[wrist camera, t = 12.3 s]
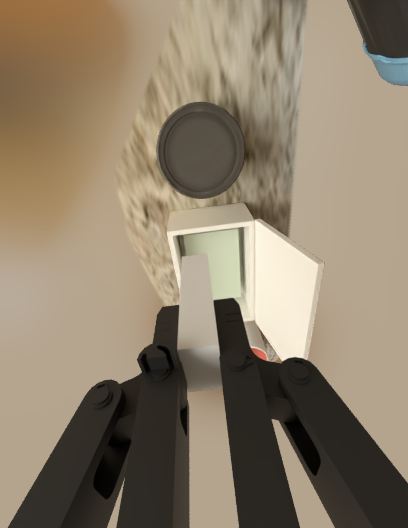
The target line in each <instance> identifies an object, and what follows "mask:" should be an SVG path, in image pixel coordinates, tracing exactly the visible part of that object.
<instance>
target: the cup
mask: <svg viewBox="0 0 408 528" xmlns="http://www.w3.org/2000/svg"><path fill="white" fill-rule="evenodd" d="M244 325H245V329H246V333H247V336H248V340H249V344H250V347H251V350H252V351H253V352H254V354H255V355H257V356H258V357H259V358H261V359H263V360H266V361H268V355H267V352H266V349H265V346H264V342H263V339H262V336H261V333H260V330H259V327H258V325H257V324H256V322H255V321H245V322H244Z"/></svg>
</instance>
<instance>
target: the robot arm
mask: <svg viewBox="0 0 408 528" xmlns="http://www.w3.org/2000/svg"><path fill="white" fill-rule="evenodd" d="M347 2H348V4H349V6H350V9H351V11H352V14H353V16H354V19H355V21H356V23H357V26H358V28H359V31H360V33H361V35H362V38H363V48H364V51H365V53H366V54H367V55H368V56H369V57H370V58H371V59H372V61H373V63H374V65H375V67H376V69H377V71H378V73H379V75H380V76H381V77H382V78H383V79H384V80H386V81H387V82H388V83H391V84H393V85H400V86H408V0H347ZM137 361H138V363H139V366H140V368H141V371H142V373H141V374H139V375H138V376H136V377H134V378H133V379H130V380H128V381H126V382H123V383H121V384H118V382H116V381H114V380H104V381H102V382H99V383H98V384H96V385H95V386H94V387H92V388H91V389H90V390H89V391H88V393H87V394H86V395H85V397H84V399H83V401H82V402H81V404H80V406H79V407H78V409H77V411H76V412H75V414H74V416H73V418H72V419H71V421H70V423H69V424H68V426H67V428H66V429H65V431H64V433H63V434H62V436H61V438H60V440H59V441H58V443H57V445H56V446H55V448H54V450H53V452H52V453H51V455H50V457H49V458H48V460H47V462H46V463H45V465H44V467H43V469H42V470H41V472H40V474H39V475H38V477H37V479H36V481H35V482H34V484H33V486H32V487H31V489H30V491H29V492H28V494H27V496H26V498H25V500H24V501H23V503H22V504H21V506H20V508H19V509H18V511H17V513H16V515H15V516H14V518H13V520H12V521H11V523H10V525H9V527H8V528H107V526H108V523H109V520H110V517H111V515H112V512H113V509H114V506H115V503H116V500H117V497H118V495H119V492H120V489H121V486H122V484H123V481H124V478H125V481H124V487H123V492H122V498H121V504H120V510H119V516H118V521H117V527H116V528H189V405H188V400H187V388H188V392H195V391H203V390H213V389H221V388H223V395H224V403H225V412H226V419H227V428H228V437H229V446H230V454H231V463H232V471H233V479H234V487H235V496H236V505H237V513H238V521H239V528H300V526H299V522H298V518H297V515H296V511H295V507H294V504H293V499H292V495H291V492H290V488H289V484H288V480H287V476H286V473H285V469H284V465H283V461H282V457H281V454H280V450H279V446H278V442H277V438H276V435H275V431H274V427H273V424H272V420H271V419H275V420H279V422H280V424H281V426H282V428H283V430H284V431H285V433H286V435H287V437H288V439H289V441H290V443H291V445H292V446H293V449H294V450H295V452H296V454H297V456H298V458H299V460H300V462H301V464H302V466H303V468H304V469H305V471H306V473H307V475H308V477H309V479H310V481H311V483H312V485H313V486H314V489H315V490H316V492H317V494H318V496H319V498H320V500H321V502H322V504H323V506H324V508H325V510H326V511H327V513H328V515H329V517H330V519H331V521H332V523H333V525H334V527H335V528H408V483H407V482H406V481H405V479H404V478H403V477H402V475H401V474H400V473H399V472H398V470H397V469H396V468H395V467H394V465H393V464H392V463H391V461H390V460H389V459H388V458H387V457H386V455H385V454H384V453H383V451H382V450H381V449H380V448H379V446H378V445H377V444H376V442H375V441H374V440H373V439H372V438H371V436H370V435H369V434H368V432H367V431H366V430H365V429H364V427H363V426H362V425H361V423H360V422H359V421H358V420H357V418H355V416H354V415H353V413H352V412H351V411H350V410H349V408H348V407H347V406H346V404H345V403H344V402H343V401H342V399H341V398H340V397H339V396H338V394H337V393H336V392H335V391H334V389H333V388H332V387H331V386H330V385H329V383H328V382H327V380H326V379H325V378H324V377H323V375H322V374H321V373H320V372H319V370H318V369H317V368H316V367H315V366H314V365H313V364H312V363H311V362H309V361H307V360H305V359H303V358H298V357H292V358H288V359H286V360H284V361H283V362H282V363H281V364H280V363H275V362H269V361H266V360H263V359H261V358H259V357H258V356H257V355H255V354H254V352H253V351H252V350H251V347H250V344H249V340H248V336H247V333H246V329H245V325H244V321H243V317H242V314H241V309H240V305H239V303H238V302H237V301H236V300H235V299H234V298H226V299H218V300H213V295H212V287H211V279H210V271H209V263H208V256H207V253H206V254H198V255H191V256H183V257H182V263H181V283H180V303H179V305H175V306H166V307H162V308H161V310H160V311H159V313H158V315H157V320H156V326H155V333H154V339H153V344H151V345H149V346H147V347H146V348H144V349H143V350H142V352H141V353H140V354H139V356H138V359H137Z"/></svg>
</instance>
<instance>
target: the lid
mask: <svg viewBox="0 0 408 528" xmlns="http://www.w3.org/2000/svg"><path fill="white" fill-rule="evenodd" d="M324 265H325V263H324V262H323V261H322V260H320V259H319V258H317V257H316V256H314V255H313V254H311V253H310V252H308V251H307V250H305V249H304V248H302V247H301V246H299V245H298V244H297V243H295V242H294V241H292V240H291V239H289V238H288V237H286V236H285V235H283V234H282V233H280V232H279V231H278V230H276V229H275V228H273V227H272V226H270V225H269V224H267V223H266V222H264V221H263V220H261V219H260V218H259V219H255V322H256V324H257V325H258V327H259V328H260V330H261V331H262V333H263V334H264V335H265V337H266V338H267V340H268V341H269V343H270V344H271V346H272V347H273V348H274V350H275V351H276V353H277V354H278V356H279V357H280V359H281V360H282V361H284V360H286V359H288V358H292V357H298V358H303V359H305V360H307V359H308V353H309V348H310V342H311V337H312V331H313V326H314V320H315V315H316V309H317V304H318V298H319V293H320V287H321V281H322V275H323V270H324Z"/></svg>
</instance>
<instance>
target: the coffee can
mask: <svg viewBox="0 0 408 528" xmlns="http://www.w3.org/2000/svg"><path fill="white" fill-rule="evenodd" d="M156 153H157V161H158V165H159V168H160V171H161V173H162V175H163V177H164V178H165V180H166V181H167V182H168V184H169V185H170V186H171V187H172V188H173V189H175V190H176V191H177V192H179V193H181V194H182V195H185V196H187V197H191V198H196V199H205V198H211V197H214V196H217V195H219V194H221V193H223V192H224V191H226V190H227V189H228V188H229V187H230V186H231V185H232V184H233V183H234V182H235V181H236V179H237V178H238V176H239V174H240V172H241V170H242V167H243V164H244V159H245V142H244V137H243V134H242V131H241V129H240V127H239V125H238V123H237V122H236V120H235V119H234V118H233V117H232V115H230V114H229V113H228V112H227V111H226V110H225V109H223V108H221V107H219V106H218V105H215V104H212V103H207V102H194V103H189V104H187V105H184V106H182V107H180V108H178V109H177V110H175V111H174V112H173V113H172V114H171V115H170V116H169V117H168V118H167V120H166V121H165V123H164V124H163V126H162V128H161V130H160V133H159V136H158V140H157V147H156Z"/></svg>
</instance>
